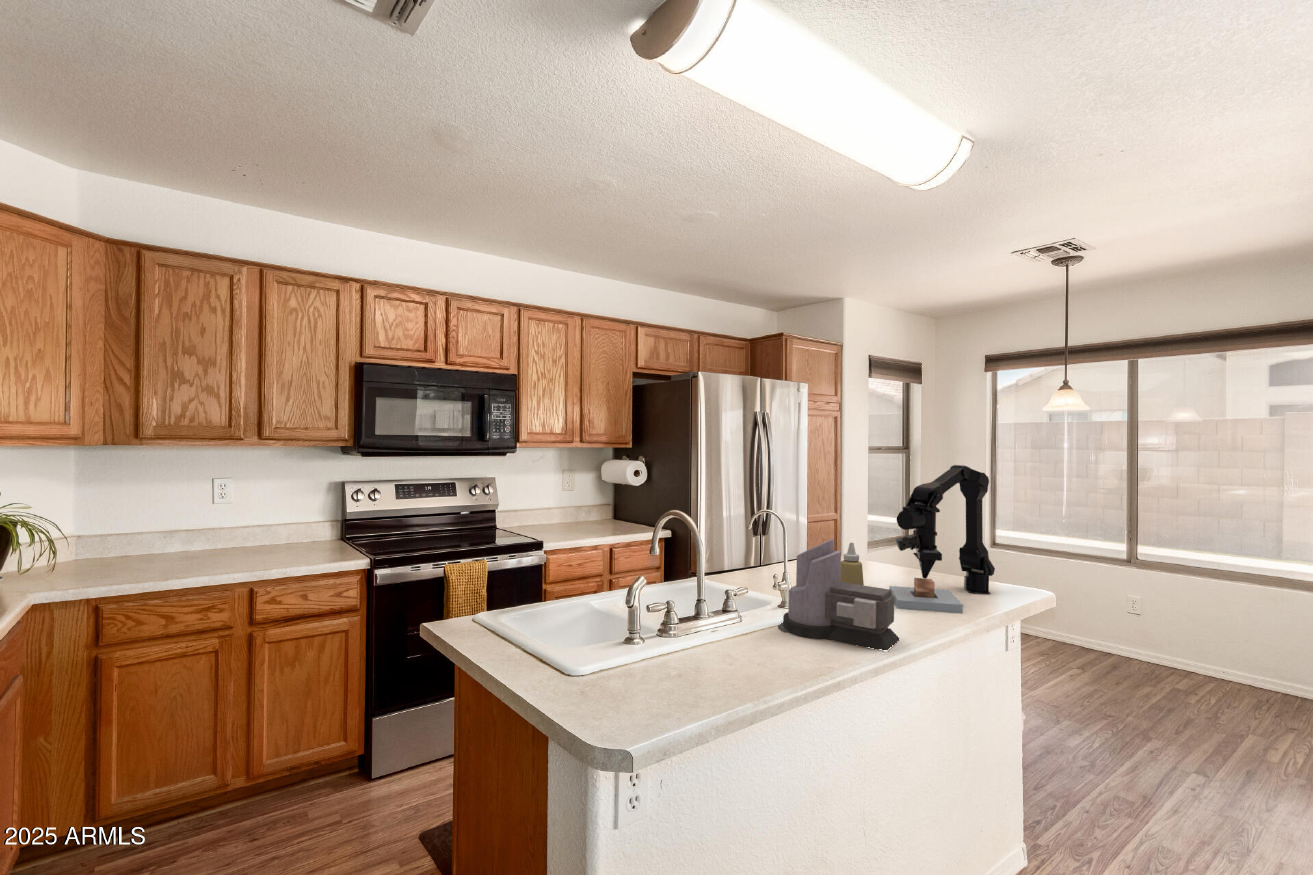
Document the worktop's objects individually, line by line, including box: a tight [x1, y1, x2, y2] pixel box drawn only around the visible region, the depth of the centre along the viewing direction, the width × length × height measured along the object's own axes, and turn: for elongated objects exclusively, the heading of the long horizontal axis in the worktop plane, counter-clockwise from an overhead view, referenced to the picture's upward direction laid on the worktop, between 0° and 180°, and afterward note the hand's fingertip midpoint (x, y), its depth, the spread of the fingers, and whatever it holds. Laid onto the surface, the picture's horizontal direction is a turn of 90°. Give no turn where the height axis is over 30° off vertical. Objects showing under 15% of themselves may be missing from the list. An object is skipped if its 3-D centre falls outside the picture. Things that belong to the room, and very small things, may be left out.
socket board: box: [888, 585, 964, 614], centre depth 197 cm, size 18×18×2 cm
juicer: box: [777, 538, 901, 650], centre depth 166 cm, size 30×16×24 cm, turn 55°
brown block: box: [913, 577, 935, 598], centre depth 197 cm, size 5×5×6 cm
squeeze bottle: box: [840, 542, 865, 586], centre depth 198 cm, size 8×8×18 cm
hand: (924, 577), depth 197 cm, fingers closed
